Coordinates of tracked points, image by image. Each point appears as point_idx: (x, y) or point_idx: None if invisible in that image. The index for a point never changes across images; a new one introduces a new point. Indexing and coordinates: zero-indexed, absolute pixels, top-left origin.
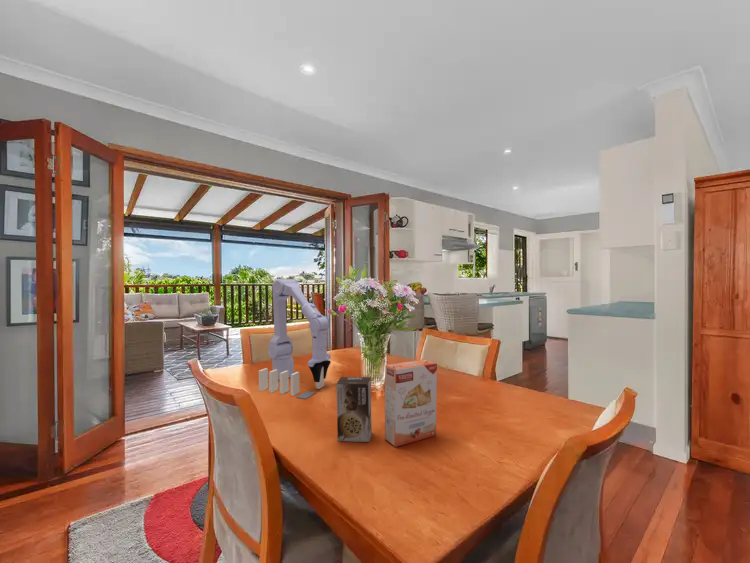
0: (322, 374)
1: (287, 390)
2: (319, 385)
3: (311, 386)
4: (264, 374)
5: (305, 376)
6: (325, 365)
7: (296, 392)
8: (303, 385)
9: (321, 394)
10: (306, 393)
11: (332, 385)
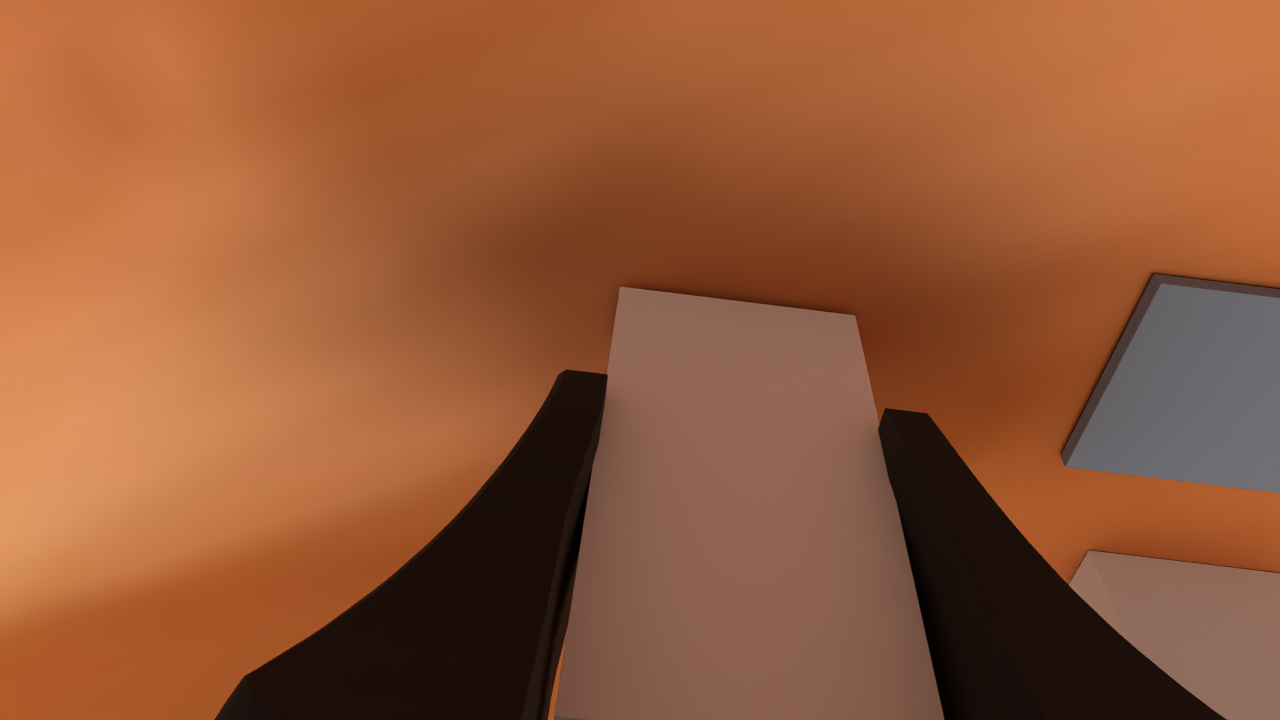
0: (664, 510)
1: None
2: (822, 354)
3: None
4: None
5: (215, 713)
6: (532, 717)
7: (1200, 587)
8: None
9: (1252, 115)
10: (1219, 429)
11: (478, 111)
